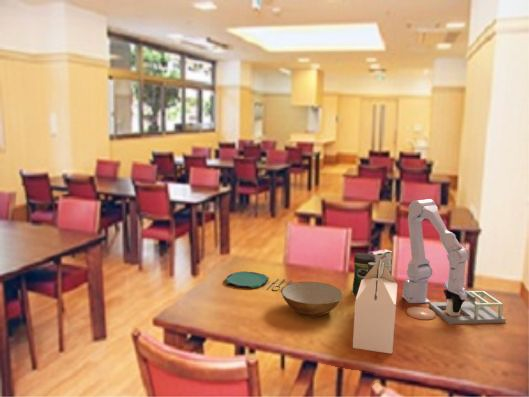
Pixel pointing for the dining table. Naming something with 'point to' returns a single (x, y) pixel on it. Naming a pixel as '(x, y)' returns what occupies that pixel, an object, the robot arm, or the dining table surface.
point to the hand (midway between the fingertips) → (453, 309)
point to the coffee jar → (361, 269)
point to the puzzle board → (468, 314)
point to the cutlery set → (250, 279)
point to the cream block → (451, 308)
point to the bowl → (311, 297)
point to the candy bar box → (383, 257)
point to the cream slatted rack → (482, 301)
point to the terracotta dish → (421, 313)
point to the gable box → (375, 311)
